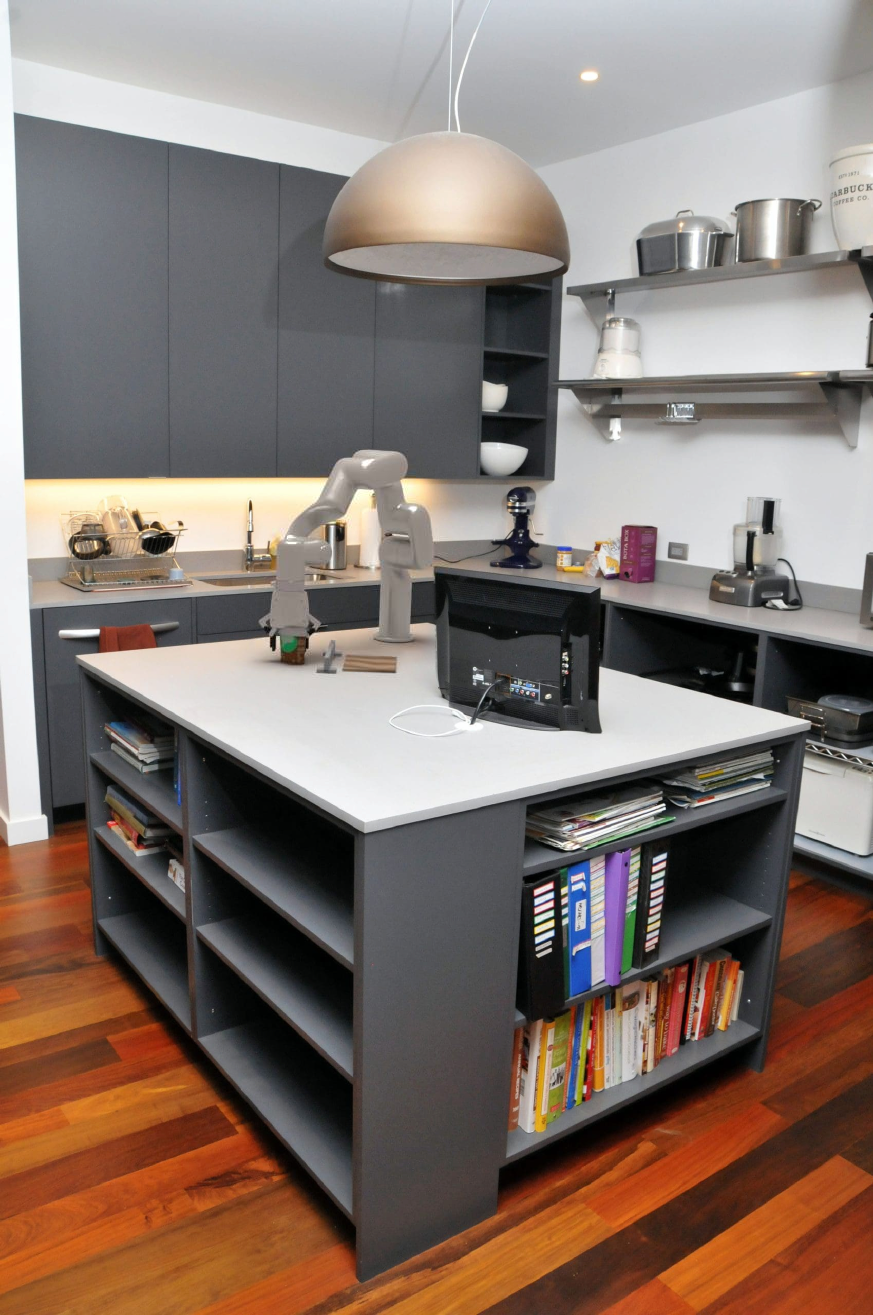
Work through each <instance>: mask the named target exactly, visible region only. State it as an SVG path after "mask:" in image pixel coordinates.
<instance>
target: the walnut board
mask: <svg viewBox="0 0 873 1315" xmlns="http://www.w3.org/2000/svg"><path fill="white" fill-rule="evenodd" d="M396 671H397V656H392V655H391V656H389V655H387V656H385V655H370V654H369V655H364V654H346V655H345V658H344V662H343V665H342V672H360V673H361V672H362V673H384V674H385V673H386V674H387V673H388V674H396V673H397V672H396Z"/></svg>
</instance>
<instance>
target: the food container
mask: <svg viewBox="0 0 873 1315" xmlns="http://www.w3.org/2000/svg"><path fill="white" fill-rule="evenodd" d="M276 632H277V633H278V634H279V646H280V648H279V649H280V661H281V663H284V664H288V665H305V662H306V661H305V660H306V652H305V644H306V636H307V631H306V628H289V627H284V628H283V629H277V630H276Z"/></svg>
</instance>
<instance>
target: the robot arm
mask: <svg viewBox="0 0 873 1315" xmlns="http://www.w3.org/2000/svg"><path fill="white" fill-rule="evenodd" d="M408 468H409V465H408V459H407V458H406V456H405V455H404V454H403V453H401V452H399V451H395V450H394V451H393V450H379V449H362V450H358V451H356V452H354V453H353V455H352V457H344V458H340V459H339V460H337V461H336V463H335V464H334V466H333V467H332V471H331V472H330V473H329V476H328V479H327V481H326V482H325V485H324V486H323V489H322V491H321V493H320V495H319V497H318V499H317V500H316V501H315V502H313V503H312V504H311V505H310V506H308V507H307V508H306V509H305V510H304V511H302V512H301V513H300V514H299V515H298V516H296V517H295V519H293V521H292V522H291V524H290V525H289V528H288V530H287V532H286V534H285V536H284V539H280V540H279V541H278V542H277V544H276V567H275V568H276V577H275V580H273V581H270V587H274V588H275V590H273V591H272V594H271V599H270V600H271V603H270V611H269V613H267V614H266V615H265V616H263V617H261V618H260V619H259V620H258V624H259V625H260V626H261V628H262V629H263V631H264V632H266V634H267V635H268V636H269V648H270V649H271V652H275V651H276V650H277V635H276V632H277V629H283V628H284V627H289V628H306V631H307V636H306V644H305V653H306V652H307V650H309V649H310V645H309V644H310V637H311V636H312V635H313V634H314V633H315V632H316V631H317V629H318V628H319V627H320V626H321V624H322V623H321V621H320V620H318V619H317V618H316V617H314V616H313V615H312V614H311V613H310V605H309V597H308V592H307V591H305V584H306V583H305V582H306V580H305V579H306V578H305V577H306V567H316V568H317V567H322V566H323V567H324V566H325V565H327V564H328V563H329V562H330V561H331V559H332V556H333V549H332V546H331V545H330V543H329V542H327V541H326V540H325V539H322V538H321V539H320V538H317V537H316V538H315V537H309V536H310V535H311V534H312V533H313V532H314V531H315V530H316V529H319V528H320V527H322V526H324V525H327V524H329V523H332V522H335V521H337V520H340V519H341V518H343V517H344V516H346V514H347V512H348V510H349V508H350V506H351V504H352V502H353V500H354V497H355V495H356V493H357V491H358V490H368V491H371V490H373V493H374V498H375V499H374V500H375V505H376V512H377V518H378V524H379V527H380V529H381V530H382V531H383V532H384V533H388V534H393V535H389V536H386V537H385V538H384V539H382V540H381V541H380V543H379V545H378V552H377V553H378V560H379V567H380V588H379V590H380V594H379V622H378V632H375V633H373V639H374V640H376V641H381V642H387V643H409V642H412V641H414V640H415V638H416V637H415V635H414V634H412V633H411V613H412V612H411V610H412V608H411V607H412V588H413V584H412V578H411V575H410V574H411V573H410V572H409V570H411V571H418V572H419V571H420V572H421V571H426V570H428V569H429V568H430V567H432V566H433V562H434V559H435V546H434V540H433V539H434V538H433V531H432V530H433V529H432V524H431V523H432V522H431V517H430V514H429V511H428V509H427V508H426V507H424V506H423V505H422V504H419V503H414V502H413V503H412V502H407V501H406V499H405V495H404V488H403V485H402V482H401V481H402V480H403V479H404V478H405V476H406V475H407V472H408ZM401 535H402V536H401ZM268 620H269V624H270V626H269V625H268V624H267V623H266V622H267V621H268ZM310 622H311V623H312V624H313V626H312V627H311V628H310V629H308V626H309V624H310Z"/></svg>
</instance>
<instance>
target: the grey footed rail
mask: <svg viewBox="0 0 873 1315" xmlns="http://www.w3.org/2000/svg"><path fill="white" fill-rule="evenodd" d="M342 654H343V652H342V651H340V650H337V651H336V640H335V639H331V640H330V642H329V644H328V647H327V650H323V652H322V655H323V657H324V658H323V666H317V668H316V673H321V674H324V673H325V674H336V673H337V672H338V670H337V667H332V664H333V660H334V657H342Z"/></svg>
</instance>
